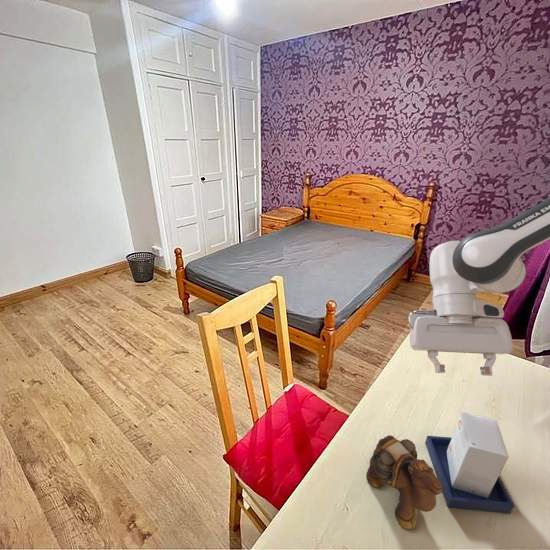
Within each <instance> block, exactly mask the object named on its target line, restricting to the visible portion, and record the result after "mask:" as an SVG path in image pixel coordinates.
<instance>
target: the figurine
mask: <svg viewBox="0 0 550 550" xmlns="http://www.w3.org/2000/svg"><path fill="white" fill-rule="evenodd" d="M369 459H370V460H369V467H368V468H367V471H366V475H365V477H366V481H367V483H368V484H369V485H370V486H371V487H373V488H376V489H380V488H381V487H383V486H384V485H385V482H386V484H387V485H388V486H389V487H391V488H394V489H395V490H397V491H398V493H399V497H398V503H397V506H396V507H395V509H394V517H395V519H396V521H397V523H398V525H399V526H400V527H401V528H402V529H404V530H412V529H414V528H415V527H416V524H417V517H418V513H419V511H421V512H423V513H428V512H432V511H433V510H435V508H436V506H437V496H438V495H440V494H441V493H442V485H441V483H440V481H439V480H438V478H437V476H436V473H434V472H435V471H434V468H432V467H431V466H430V465H429V464H428V463H427V462H426V460H424V459H419V458H418V452H417V447H416V444H415V443H414V442H413V441H412V440H410V439H407V438H406V439H405V438H404V439H401V440H399V439H397V438H396V437H394V436H393V435H387V436H385V437H383V438H380V439H379V440H378V442H377V444H376V446H375V448H374V450H373V453H372V455H371V457H370V458H369Z"/></svg>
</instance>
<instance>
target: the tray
mask: <svg viewBox="0 0 550 550" xmlns="http://www.w3.org/2000/svg"><path fill="white" fill-rule="evenodd" d="M451 439H452V436H451V437H449V436H437V435H427V436H426V438H425V442H424V444H425V446H426V450H427V452H428V455H429V459H430V461H431V465H432V467H433V471H434V472H435V473H434V474H435V476H436V477H437V478H438V480H439V481H440V483H441V485H442V492H441V493H442V496H443V498H444V501H445V505H446V507H447V508H450V509H459V510H460V509H461V510H467V511H468V510H469V511H477V512H478V511H479V512H488V513H498V514H512V512H513V510H514V508H515V504H514V502H513V500H512V499H511V497H510V495H509V492H508V491H507V489H506V486H505V484H504V483H503V481H502V479H501V477H500V476H499V477H498V479H497V481H496V483H495V485H494V486H493V488H492V491H491V493H490V494H489V496H488V498H485V497H482V496H478V495H475V494H471V493H468V492H465V491H462V490H458V489H455V488H452V484H451V478H450V472H449V465H448V459H447V449H448V447H449V444H450V441H451Z"/></svg>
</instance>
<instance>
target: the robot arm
mask: <svg viewBox="0 0 550 550" xmlns="http://www.w3.org/2000/svg"><path fill="white" fill-rule="evenodd" d="M547 241H550V197H549V198H547V199H545V200H544V201H542V202H540V203H538V204H536V205H534V206H533V207H530V208H529V209H527V210H525V211H524V212H522V213H520V214H518V215H517V216H515V217H513V218H511V219H509V220H507V221H505V222H503V223H501V224H499V225H497V226H494V227H491V228H488V229H483V230H480V231H476V232H473V233H471V234H469V235H466V237H464V238H463V239H462V240H449V241H445V242H443V243H440V244H438V245H437V246H436V247H434V248H433V249H432V251H431V252H430V255H429V261H428V263H429V268H428V269H429V280H430V281H429V282H430V284H431V287H432V296H431V299H432V300H431V301H432V309H414V310H413V311H411V312H409V313H408V317H407V318H408V325H409V327H410V332H409V346H410V347H411V349H412V350H413V351H417V352H427V357H428V359H429V360H430V361H431V363H432V364H433V367H434V373H435V374H446V365H445V364H441V363H440V361H439V359H438V357H439V353H459V354H460V353H461V354H463V353H464V354H481V355H482V356H483V359H484V360H485V362H484V364H483V366H479V370H480V375H481V376H488V377H492V376H493V374H494V373H493V366H494V365H495V362H496V360H497V355H501V356H502V355H510V354H511V353H512V352H513V351H514V342H513V337H512V334H511V330H510V327H509V325H508V323H507V322H506V320H503V319H502V318H504V317H505V312H504V309H503V308H502V307H500V306H496V305H493V304H491V303H486V302H484V301H481V300H479V299H477V294H478V293H483V294H484V293H485V294H504V293H509V292H512V291H514V290H516V289H518V288H519V287H520V286H521V285H522V284H523V282H524V281H525V279H526V276H527V267H526V264H525V263H524V261H523V260H522V258H521V256H523V255H524V254H526V252H528V251H530V250H532V249H534V248H536V247H537V246H540V245H541V244H543V243H545V242H547Z"/></svg>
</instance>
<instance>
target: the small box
mask: <svg viewBox="0 0 550 550" xmlns="http://www.w3.org/2000/svg"><path fill="white" fill-rule="evenodd" d="M451 438H452V439H451V441H450V444H449V447H448V449H447V459H448V465H449V472H450V478H451V484H452V488H455V489H458V490H462V491H465V492H468V493H471V494H475V495H478V496H482V497H485V498H488V496H489V494H490V493H491V491H492V488H493V486H494V485H495V483H496V481H497V479H498V477H500V475H501V473H502V471H503V469H504V467H505V465H506V463H507V461H508V459H509V457H510V456H509V453H508V451H507V448H506V445H505V442H504V439H503V438H504V437H503V435H502V433H501V429H500V427H499V424H498V421H497V420H496V419H493V418H489V417H485V416H481V415H477V414H473V413H470V412H469V413H468V412H464V411H461V412H460V415H459V417H458V420H457V423H456V425H455V428H454V431H453V433H452V436H451Z"/></svg>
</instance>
